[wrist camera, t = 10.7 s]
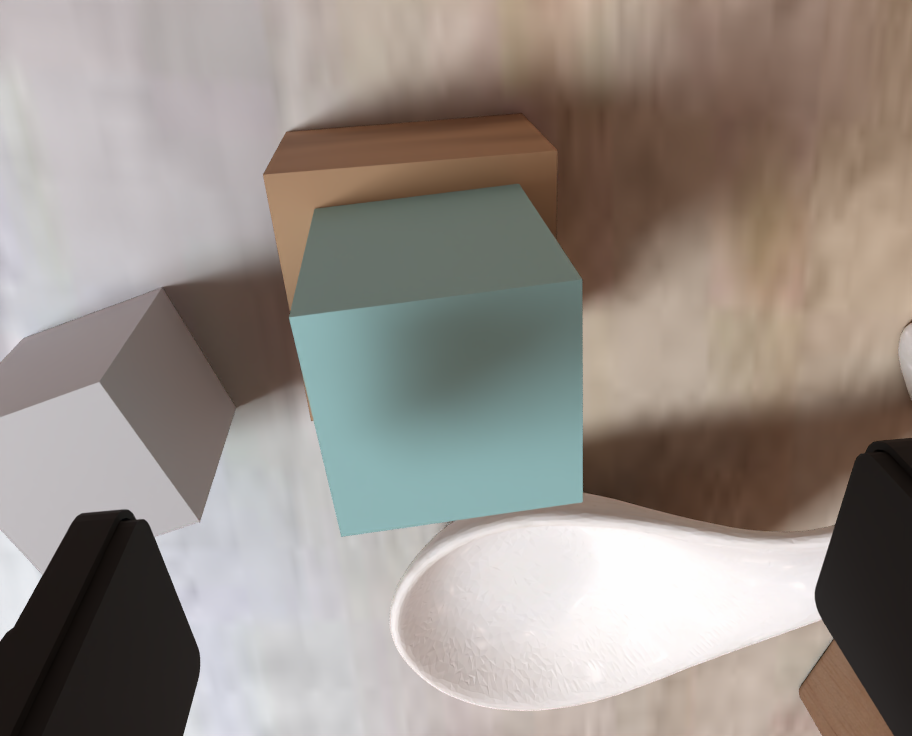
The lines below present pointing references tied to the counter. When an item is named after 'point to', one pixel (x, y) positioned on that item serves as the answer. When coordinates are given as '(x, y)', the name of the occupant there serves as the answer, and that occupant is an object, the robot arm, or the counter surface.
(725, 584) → the spoon rest
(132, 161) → the counter surface
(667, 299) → the counter surface
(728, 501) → the counter surface
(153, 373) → the grey block
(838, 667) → the wooden block
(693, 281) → the counter surface
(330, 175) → the walnut block
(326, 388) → the teal block
